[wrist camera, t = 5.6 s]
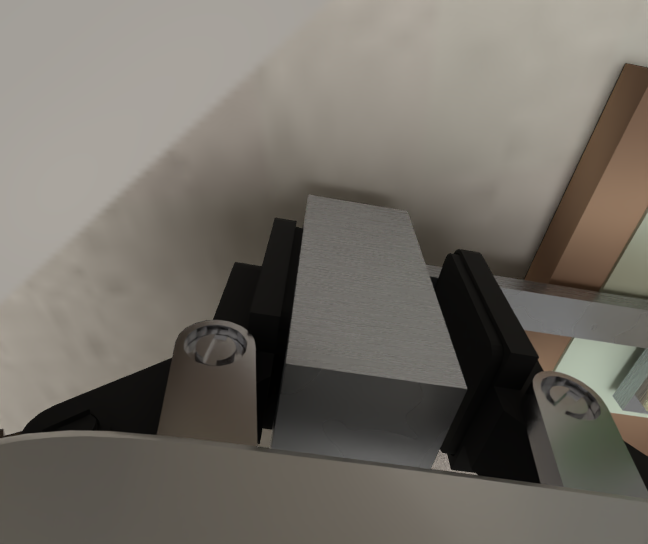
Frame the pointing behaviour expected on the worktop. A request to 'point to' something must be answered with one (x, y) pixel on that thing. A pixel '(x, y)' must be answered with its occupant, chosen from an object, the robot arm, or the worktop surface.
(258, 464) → the robot arm
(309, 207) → the grey dumbbell
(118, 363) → the worktop surface
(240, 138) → the worktop surface
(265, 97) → the worktop surface
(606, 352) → the board
